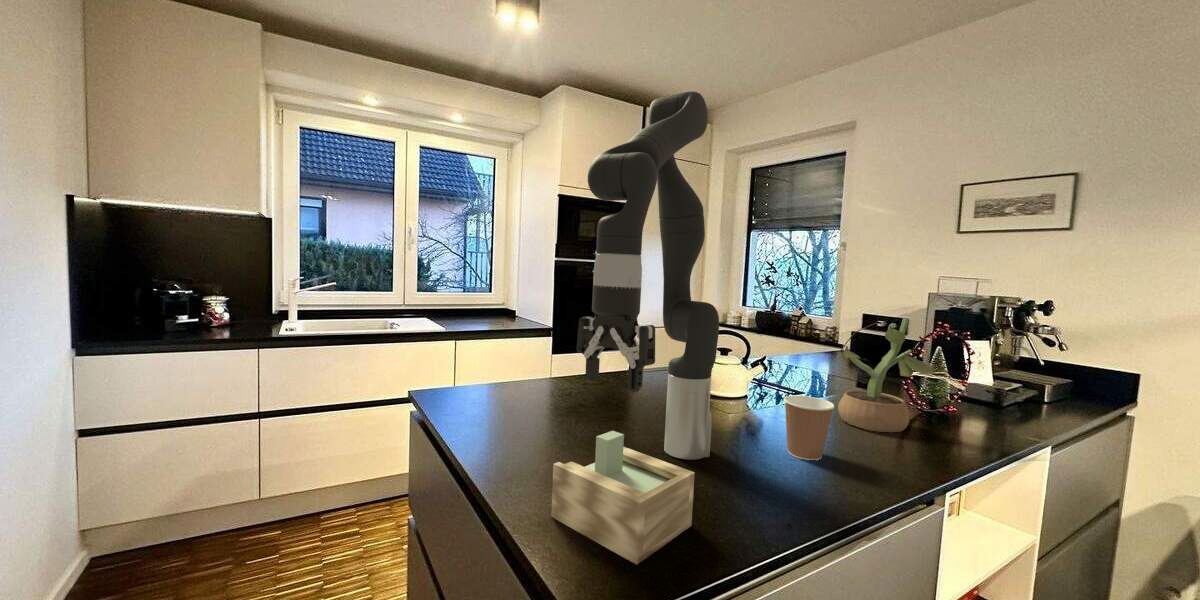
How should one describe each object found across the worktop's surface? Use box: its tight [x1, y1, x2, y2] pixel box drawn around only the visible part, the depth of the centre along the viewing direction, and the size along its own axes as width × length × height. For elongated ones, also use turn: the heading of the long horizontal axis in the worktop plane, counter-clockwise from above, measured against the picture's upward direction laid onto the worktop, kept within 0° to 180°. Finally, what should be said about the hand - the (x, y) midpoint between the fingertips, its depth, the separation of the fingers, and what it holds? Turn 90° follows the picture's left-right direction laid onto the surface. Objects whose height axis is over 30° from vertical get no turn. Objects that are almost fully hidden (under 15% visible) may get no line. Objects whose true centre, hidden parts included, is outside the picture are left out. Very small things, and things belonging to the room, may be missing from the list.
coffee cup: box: [783, 395, 835, 461], centre depth 106 cm, size 10×10×12 cm
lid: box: [584, 430, 670, 493], centre depth 75 cm, size 14×10×7 cm
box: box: [550, 446, 696, 565], centre depth 75 cm, size 17×14×9 cm
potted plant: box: [837, 318, 936, 433], centre depth 127 cm, size 22×18×30 cm
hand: (612, 386), depth 76 cm, fingers open, 8 cm apart
